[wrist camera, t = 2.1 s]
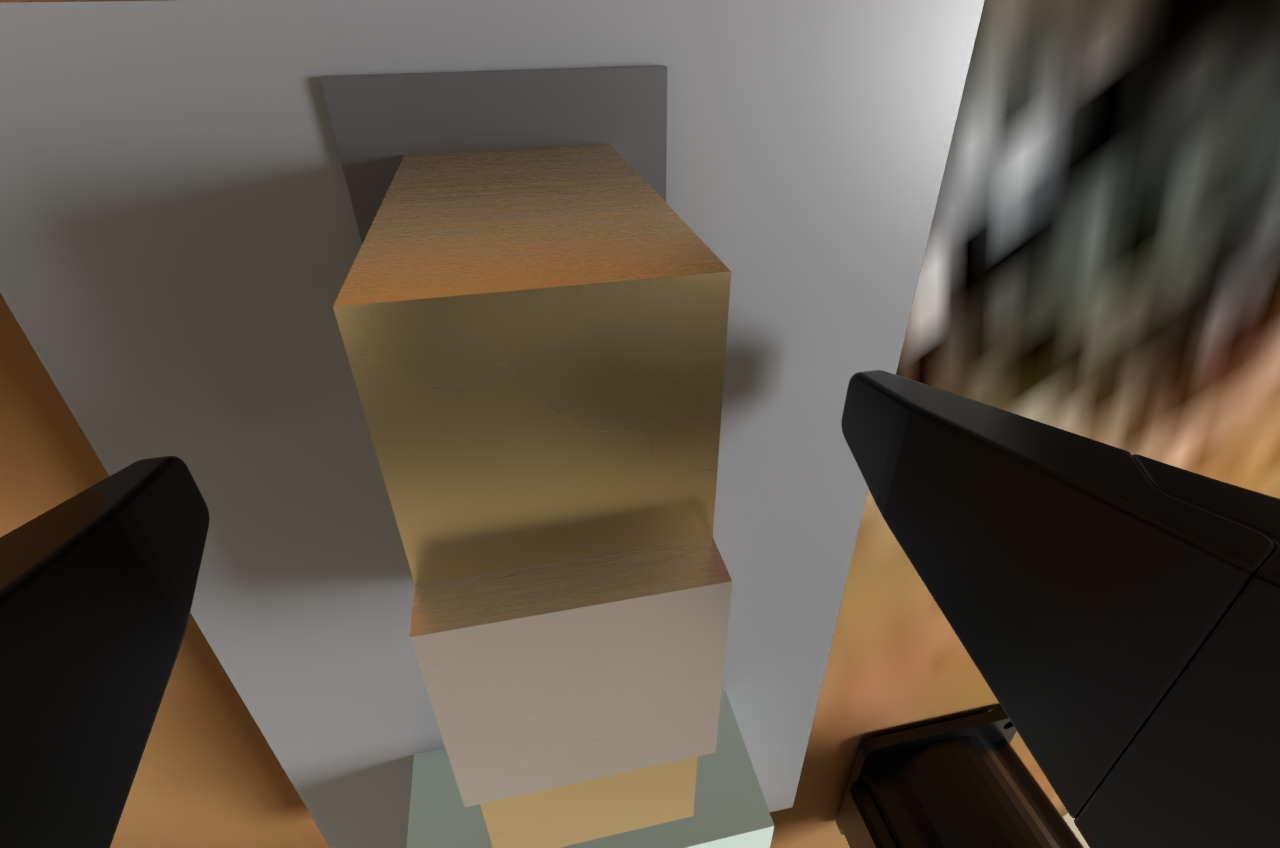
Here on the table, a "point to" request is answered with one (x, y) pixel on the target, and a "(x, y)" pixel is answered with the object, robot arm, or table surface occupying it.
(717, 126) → the housing
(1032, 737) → the robot arm
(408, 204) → the gold faceted block
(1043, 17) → the table surface
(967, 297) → the table surface
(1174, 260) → the table surface
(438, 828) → the cover
